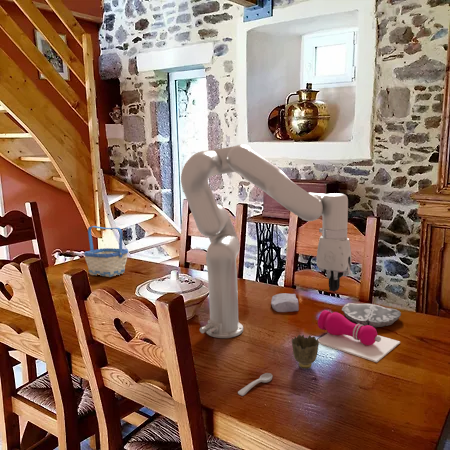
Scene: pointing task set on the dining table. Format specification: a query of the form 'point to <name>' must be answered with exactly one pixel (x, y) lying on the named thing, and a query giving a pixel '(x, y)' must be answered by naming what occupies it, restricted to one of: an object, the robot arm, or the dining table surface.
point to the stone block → (284, 302)
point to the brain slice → (371, 314)
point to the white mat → (359, 346)
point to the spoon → (263, 378)
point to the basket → (106, 257)
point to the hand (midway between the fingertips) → (334, 290)
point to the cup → (305, 350)
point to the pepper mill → (347, 328)
